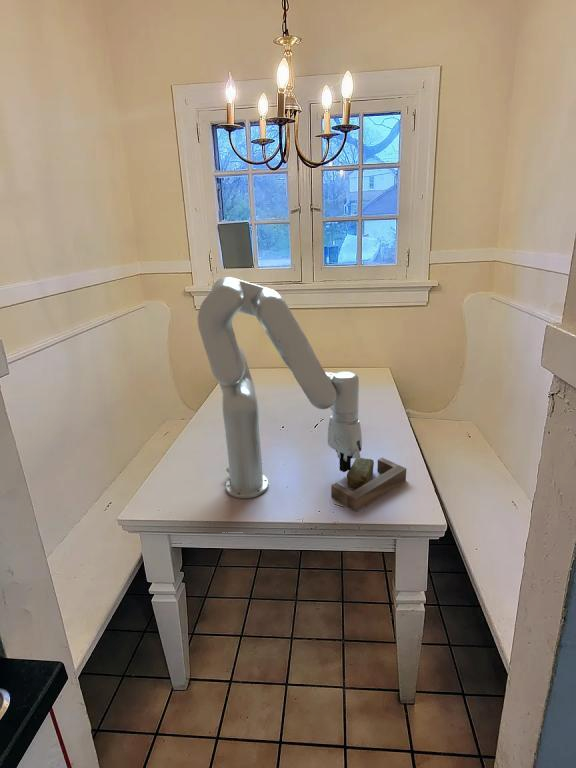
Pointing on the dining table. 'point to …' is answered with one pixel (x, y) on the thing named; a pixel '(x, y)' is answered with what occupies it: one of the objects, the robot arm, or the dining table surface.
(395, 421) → the dining table surface
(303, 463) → the dining table surface
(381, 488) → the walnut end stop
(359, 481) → the stone block
